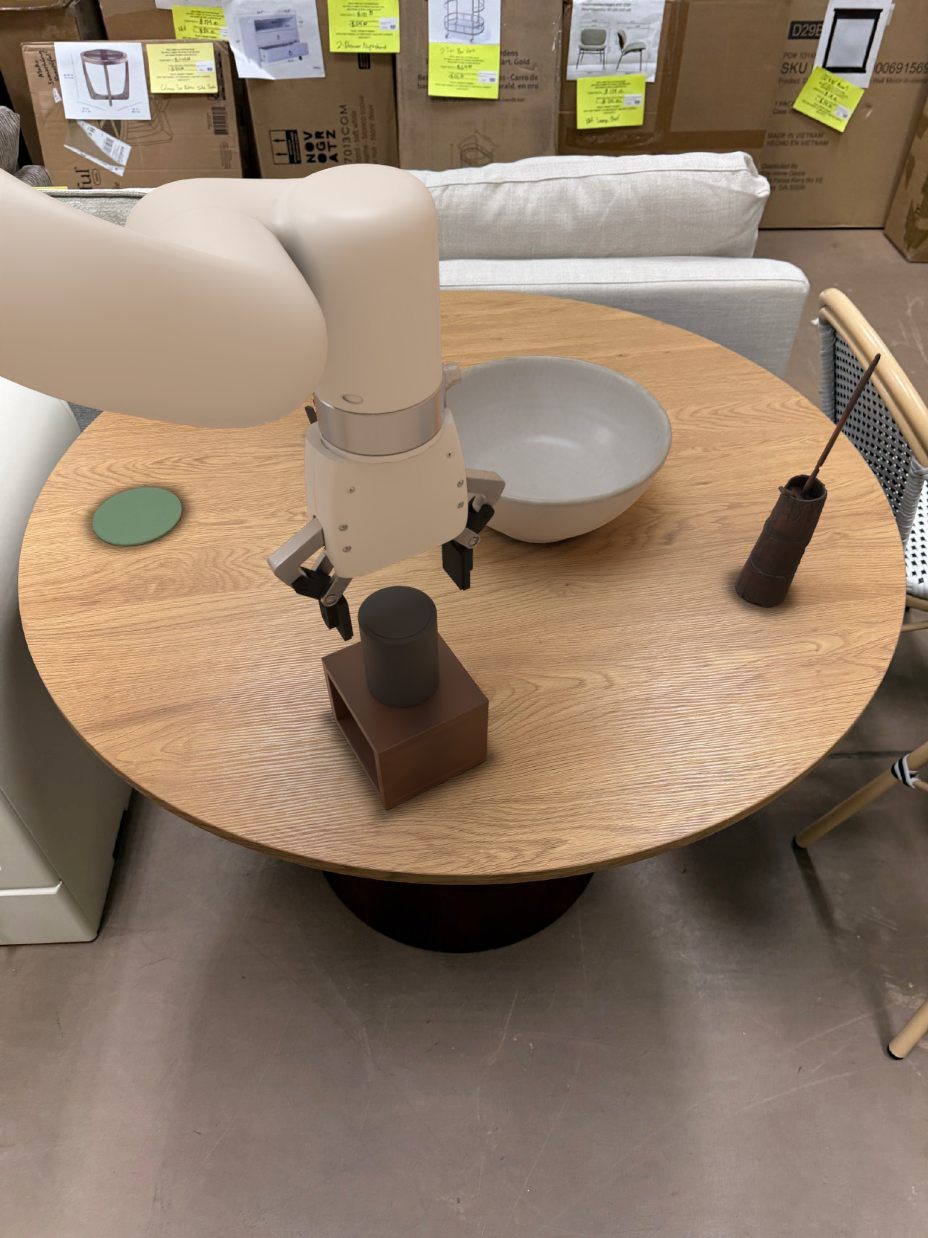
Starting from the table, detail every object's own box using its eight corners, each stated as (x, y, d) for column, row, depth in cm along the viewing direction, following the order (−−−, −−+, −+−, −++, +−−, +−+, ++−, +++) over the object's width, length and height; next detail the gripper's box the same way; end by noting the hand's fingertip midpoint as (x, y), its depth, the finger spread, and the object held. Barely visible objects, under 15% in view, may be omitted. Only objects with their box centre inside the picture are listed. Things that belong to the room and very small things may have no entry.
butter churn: (716, 626, 83) (801, 385, 62) (700, 561, 89) (772, 323, 69) (806, 628, 83) (922, 387, 62) (784, 562, 89) (881, 324, 68)
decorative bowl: (482, 419, 107) (484, 334, 98) (680, 475, 100) (702, 388, 91) (381, 543, 91) (372, 455, 82) (607, 622, 83) (624, 534, 74)
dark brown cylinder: (386, 719, 64) (379, 655, 59) (354, 668, 68) (344, 602, 62) (452, 689, 67) (451, 624, 61) (418, 640, 70) (414, 574, 64)
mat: (105, 557, 90) (104, 555, 90) (84, 506, 96) (83, 504, 95) (193, 527, 93) (192, 525, 93) (168, 479, 99) (167, 477, 99)
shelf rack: (386, 811, 69) (378, 753, 62) (333, 718, 75) (320, 657, 69) (486, 760, 72) (489, 700, 66) (428, 676, 79) (424, 613, 72)
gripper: (474, 337, 53) (474, 533, 66) (217, 417, 47) (272, 614, 60) (538, 392, 48) (525, 591, 61) (263, 488, 43) (312, 684, 56)
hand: (400, 602), depth 61 cm, fingers open, 9 cm apart
